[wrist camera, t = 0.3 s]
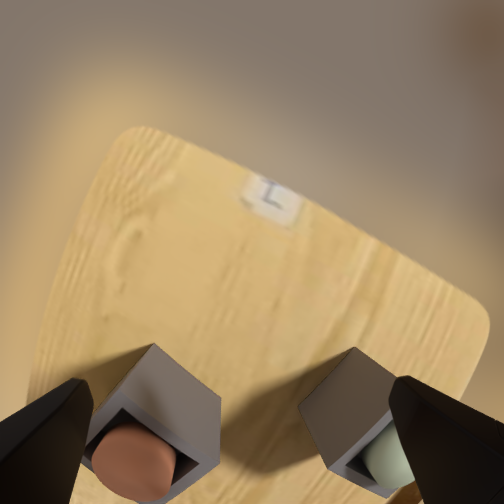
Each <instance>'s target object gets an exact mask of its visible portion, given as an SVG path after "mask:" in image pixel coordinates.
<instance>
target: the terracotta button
mask: <svg viewBox="0 0 504 504" xmlns="http://www.w3.org/2000/svg"><path fill="white" fill-rule="evenodd" d="M175 464H176V452H175V449H174V447H173V445H171V444H170V443H168V442H167V441H165V440H164V439H163V438H161V437H160V436H158V435H157V434H156V433H154V432H153V431H152V430H150V429H149V428H148V427H146V426H145V425H144V424H142V423H138V422H121V423H118V424H115V425H113V426H112V427H111V428H110V429H109V430H108V431H107V433H106V434H105V436H104V437H103V439H102V441H101V442H100V444H99V445H98V447H97V448H96V450H95V452H94V453H93V455H92V468H93V471H94V473H95V474H96V476H97V478H98V479H99V480H100V481H101V482H102V483H103V485H105V486H106V487H107V488H108V489H110V490H111V491H112V492H114V493H116V494H118V495H120V496H122V497H124V498H127V499H130V500H134V501H142V502H149V501H155V500H158V499H161V498H162V497H164V496H165V495H166V494H167V493H168V492H169V490H170V487H171V482H172V477H173V473H174V468H175Z"/></svg>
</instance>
